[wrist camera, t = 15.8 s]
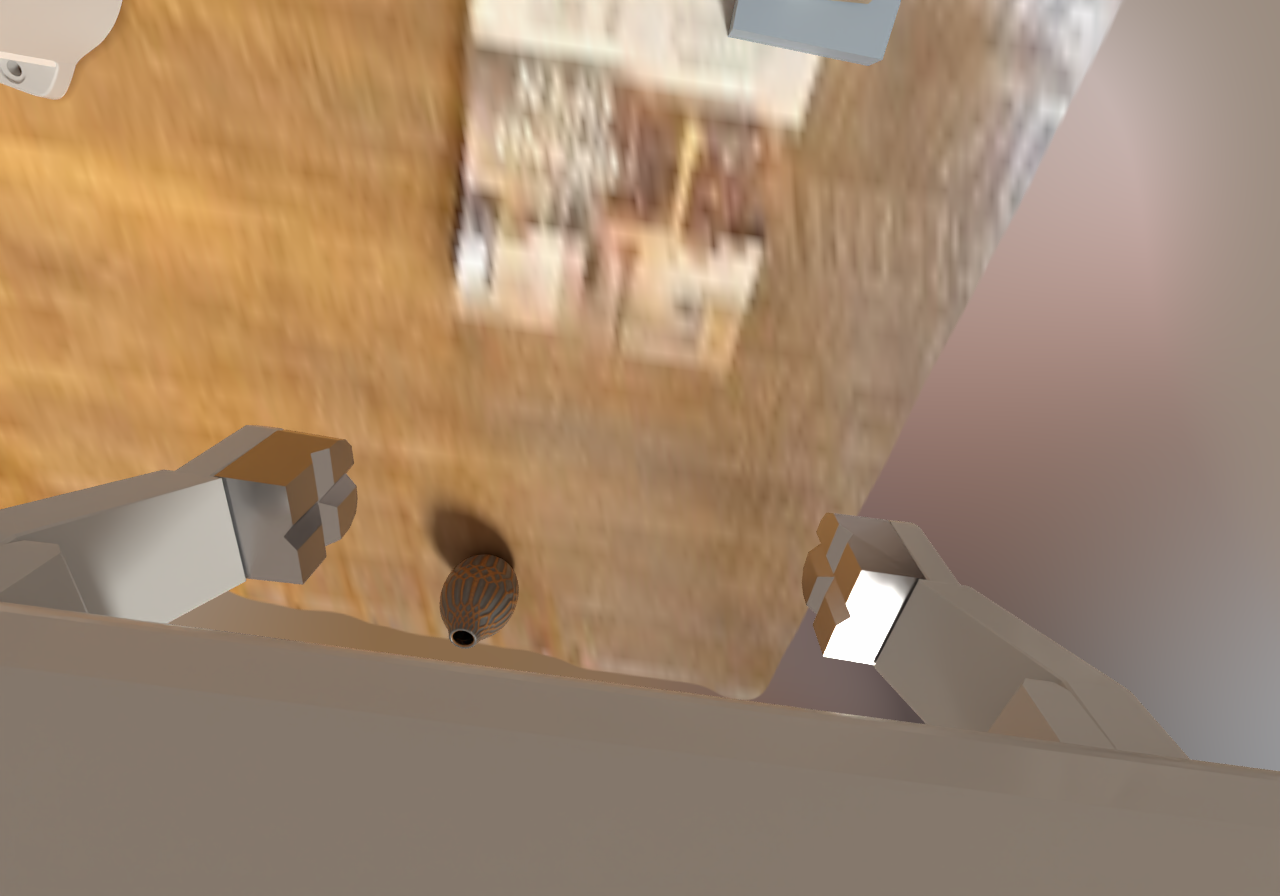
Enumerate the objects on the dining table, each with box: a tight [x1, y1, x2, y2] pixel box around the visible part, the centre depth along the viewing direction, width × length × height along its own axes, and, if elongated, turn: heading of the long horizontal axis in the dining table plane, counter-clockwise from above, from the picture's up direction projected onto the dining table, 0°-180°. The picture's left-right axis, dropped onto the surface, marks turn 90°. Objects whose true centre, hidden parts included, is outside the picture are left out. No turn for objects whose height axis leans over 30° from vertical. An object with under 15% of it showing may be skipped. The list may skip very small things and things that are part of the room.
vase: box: [440, 554, 519, 648], centre depth 51 cm, size 7×7×9 cm
